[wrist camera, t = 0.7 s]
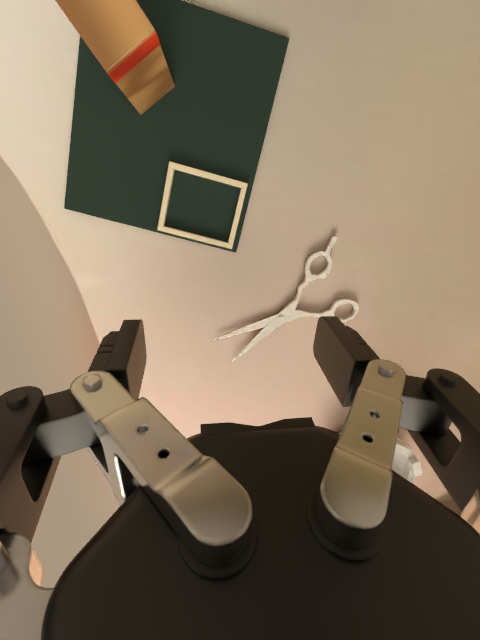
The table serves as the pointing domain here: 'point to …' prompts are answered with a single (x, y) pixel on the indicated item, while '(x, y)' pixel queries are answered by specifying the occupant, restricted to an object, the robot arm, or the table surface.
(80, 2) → the box
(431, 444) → the robot arm
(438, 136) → the table surface
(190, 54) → the mat
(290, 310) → the scissors
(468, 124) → the table surface
